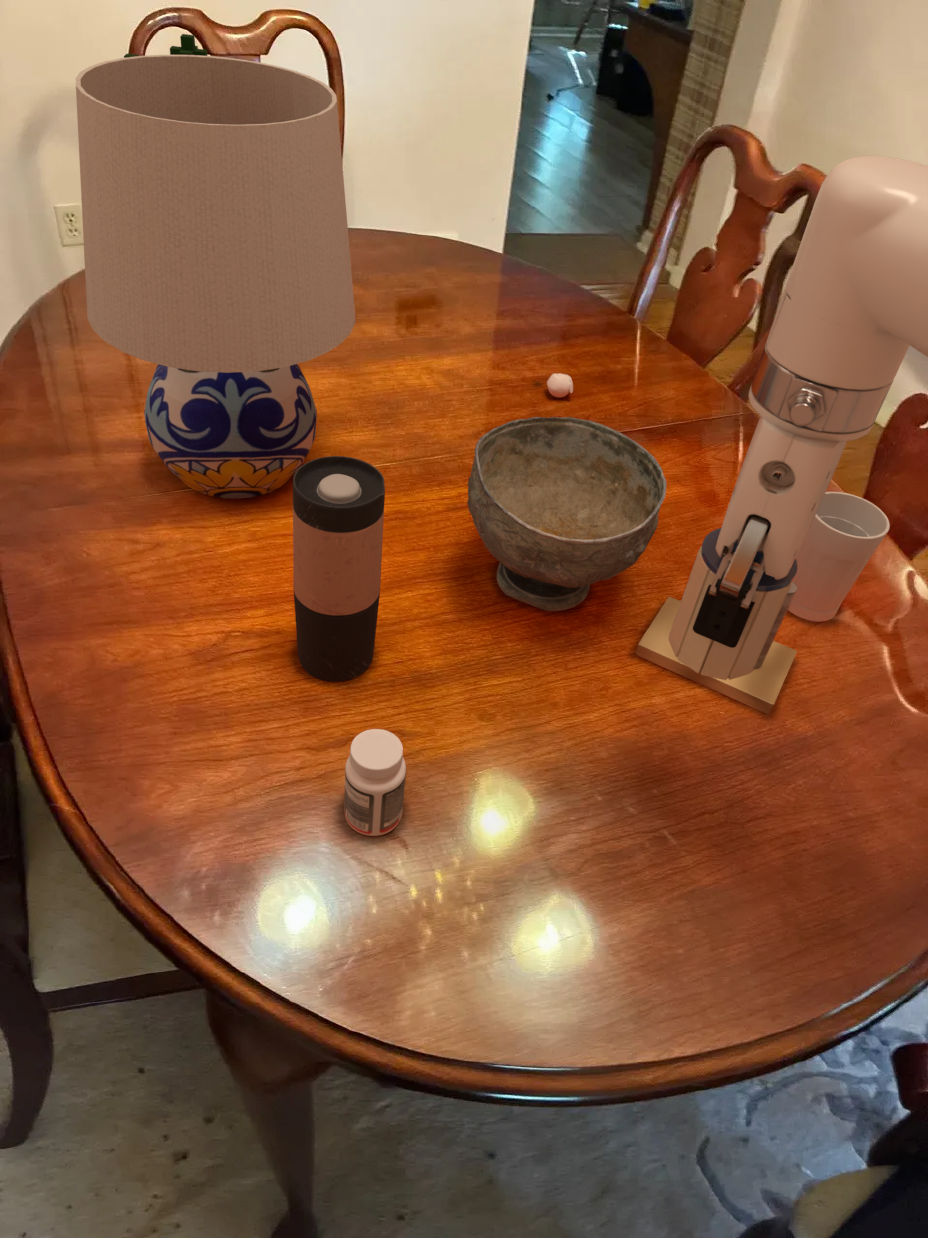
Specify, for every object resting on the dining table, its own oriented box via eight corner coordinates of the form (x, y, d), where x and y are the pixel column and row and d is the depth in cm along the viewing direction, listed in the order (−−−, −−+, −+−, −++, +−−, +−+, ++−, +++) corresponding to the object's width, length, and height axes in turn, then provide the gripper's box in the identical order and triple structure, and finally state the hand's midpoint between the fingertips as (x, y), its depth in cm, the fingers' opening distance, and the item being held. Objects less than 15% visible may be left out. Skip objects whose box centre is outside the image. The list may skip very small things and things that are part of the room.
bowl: (523, 671, 89) (549, 550, 79) (423, 556, 101) (434, 437, 90) (674, 612, 98) (715, 496, 88) (566, 512, 109) (592, 399, 99)
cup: (774, 618, 99) (815, 529, 91) (768, 572, 105) (806, 485, 97) (849, 633, 99) (896, 544, 91) (838, 586, 105) (882, 499, 97)
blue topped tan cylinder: (766, 639, 71) (807, 547, 65) (742, 693, 67) (784, 599, 61) (686, 606, 73) (718, 514, 67) (657, 656, 69) (689, 562, 63)
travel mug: (278, 652, 88) (271, 475, 74) (339, 617, 92) (343, 444, 79) (331, 697, 84) (334, 520, 71) (392, 658, 89) (406, 485, 75)
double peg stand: (792, 661, 95) (834, 575, 87) (768, 715, 88) (811, 628, 81) (665, 606, 99) (694, 519, 91) (634, 654, 93) (663, 566, 85)
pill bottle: (398, 787, 78) (404, 722, 72) (405, 835, 74) (412, 770, 69) (341, 791, 77) (343, 725, 71) (346, 840, 73) (348, 774, 68)
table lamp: (106, 540, 97) (26, 123, 70) (121, 406, 116) (63, 39, 89) (364, 530, 103) (381, 142, 76) (338, 405, 122) (344, 59, 95)
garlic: (569, 405, 128) (572, 392, 132) (574, 384, 126) (577, 371, 130) (534, 397, 129) (538, 384, 132) (539, 376, 127) (543, 363, 130)
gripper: (852, 474, 48) (747, 703, 60) (903, 354, 60) (806, 565, 72) (716, 426, 51) (640, 656, 62) (790, 320, 62) (714, 530, 74)
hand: (730, 606), depth 67 cm, fingers closed on blue topped tan cylinder, 7 cm apart
